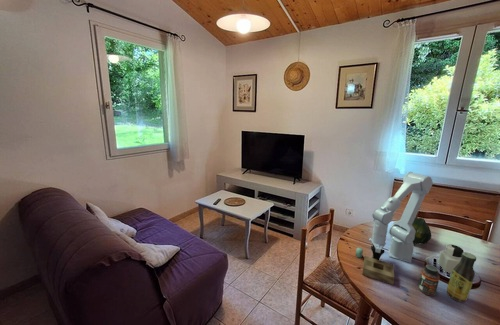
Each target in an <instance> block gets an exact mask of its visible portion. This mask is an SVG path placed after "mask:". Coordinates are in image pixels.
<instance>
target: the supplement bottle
mask: <svg viewBox="0 0 500 325" xmlns="http://www.w3.org/2000/svg"><path fill="white" fill-rule="evenodd" d="M439 282H440V274H439V269H438V268H437V267H436V266H435V265H433V264H426V265H425V267H424V268H422V269H421V271H420V276H419V280H418V285H417V288H418V290H419V291H420V292H421V293H422V294H425V295H427V296H430V297H432V296H433V297H434V296H435V295H436V294H437V290H438V286H439Z"/></svg>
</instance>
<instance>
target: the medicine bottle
mask: <svg viewBox="0 0 500 325" xmlns="http://www.w3.org/2000/svg"><path fill="white" fill-rule="evenodd" d="M463 252H465V251H464V249H463V248H462V247H460V246H457V245H455V244H446V246H445V250H440V252H439V255H438V260H437V264H438V263H439V264H438V265H439V267H440V266H441V267H442V268H441V267H440V268H441V270H442V269H443V270H444V271H445V272H448V273H447V274H450V273H452V271H453V269H454V268H455V266H456V265H457V264H459V262H460V260H461V255H462V253H463ZM443 270H442V271H443ZM444 271H443V272H444ZM445 272H444V273H445Z"/></svg>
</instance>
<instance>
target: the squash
mask: <svg viewBox="0 0 500 325" xmlns="http://www.w3.org/2000/svg"><path fill="white" fill-rule="evenodd" d="M412 226H413V228H414V229H415V231H416V232H415V238H414V240H413V242H412V243H413V245H425V244H427V243H429V241H430V240H431V239H432V232H431V227H430V226H429V225H428V223H427V221H426V220H425V219H424V218H423V217H415V219H414V221H413V224H412ZM402 228H403V227H402ZM404 229H405V228H404Z"/></svg>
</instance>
